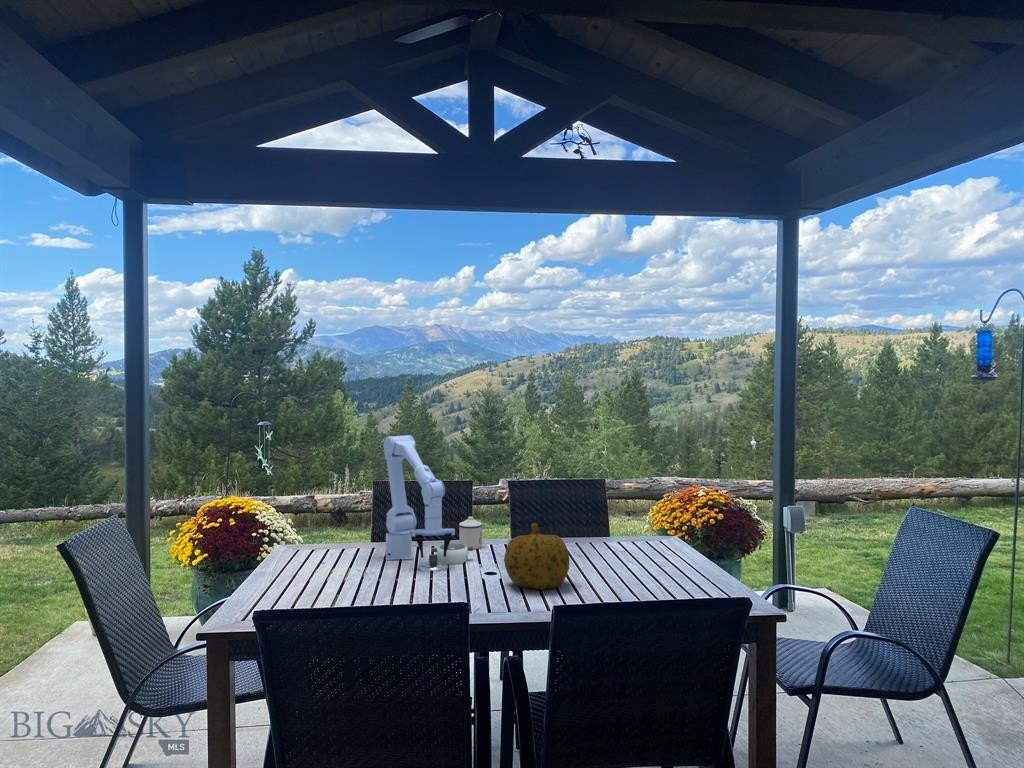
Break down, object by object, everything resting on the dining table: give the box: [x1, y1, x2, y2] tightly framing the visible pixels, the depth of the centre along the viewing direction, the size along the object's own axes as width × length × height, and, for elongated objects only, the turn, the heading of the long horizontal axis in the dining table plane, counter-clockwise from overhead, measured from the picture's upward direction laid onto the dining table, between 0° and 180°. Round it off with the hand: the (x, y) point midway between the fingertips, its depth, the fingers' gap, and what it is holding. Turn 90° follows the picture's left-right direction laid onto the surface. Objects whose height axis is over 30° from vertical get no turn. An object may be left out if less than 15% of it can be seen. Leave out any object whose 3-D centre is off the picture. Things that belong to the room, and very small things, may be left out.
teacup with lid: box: [458, 516, 483, 550], centre depth 282 cm, size 12×9×12 cm
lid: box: [418, 553, 449, 572], centre depth 250 cm, size 10×10×4 cm
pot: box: [431, 543, 474, 565], centre depth 260 cm, size 15×11×5 cm
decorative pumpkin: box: [503, 522, 570, 591], centre depth 229 cm, size 20×21×20 cm
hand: (433, 556), depth 250 cm, fingers open, 7 cm apart
